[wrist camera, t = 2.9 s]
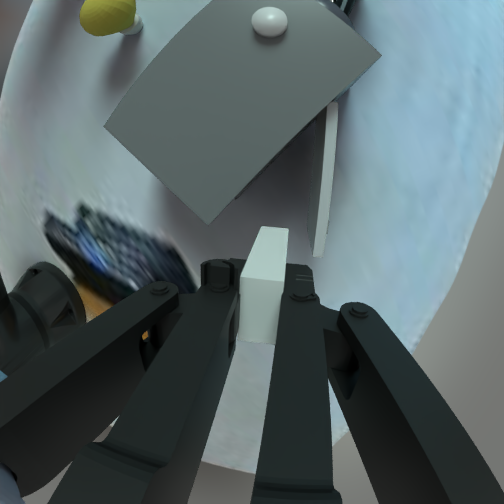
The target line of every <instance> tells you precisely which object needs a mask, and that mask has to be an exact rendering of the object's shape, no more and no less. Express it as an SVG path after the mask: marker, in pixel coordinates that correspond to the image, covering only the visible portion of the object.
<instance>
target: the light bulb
mask: <svg viewBox="0 0 504 504" xmlns="http://www.w3.org/2000/svg"><path fill="white" fill-rule="evenodd" d="M79 17H80V24H81V26H82V27H83V29H84V30H85V31H86V32H88V33H89V34H92V35H94V36H105V35H110V34H114V33H117V32H120V33H122V34H124V35H130V34H131V35H134V34H136V33H138V32H139V31H140V30H141V29H142V27H143V22H142V18H141V17H140V16H139V15H138V14H137V13H136V2H135V0H86V1H85V2H84V4H83V6H82V8H81V11H80V16H79Z"/></svg>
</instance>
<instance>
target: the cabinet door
mask: <svg viewBox="0 0 504 504" xmlns="http://www.w3.org/2000/svg"><path fill="white" fill-rule="evenodd" d="M337 120H338V102H332V101H331V102H330V103H329V104H328V105H327V106H326V107H325V108H324V109H323V110H321V111H320V112H319V113H318V114H317V115H316V125H315V140H314V154H313V166H312V178H311V189H310V199H309V209H308V218H307V229H308V234H309V240H310V245H311V250H312V255H313V257H321V258H323V253H324V247H325V240H326V234H328V226H329V220H328V217H329V209H330V200H331V191H332V182H333V172H334V161H335V149H336V135H337Z"/></svg>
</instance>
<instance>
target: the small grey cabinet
mask: <svg viewBox="0 0 504 504" xmlns="http://www.w3.org/2000/svg"><path fill="white" fill-rule="evenodd" d="M381 56H382V55H381V54H380V53H379V52H378V51H377V50H376V49H375V48H374V47H373V46H372V45H370V44H369V43H368V42H367V41H366V40H365V39H364V38H363V37H361V36H360V35H359V34H358V33H357V32H356V31H355V30H354V27H353V25H352V23H351V21H350V19H349V18H348V17H347V15H346V14H345V13H344V12H343V11H342V10H341V9H340V8H339V7H338V6H337V5H336V4H335V3H333V2H332V1H330V0H212V1H211V2H210V3H209V4H207V5H206V6H205V7H204V8H203V9H202V10H201V11H200V12H199V13H198V14H196V15H195V16H194V17H193V18H192V19H191V20H190V21H189V22H188V23H187V24H186V25H185V26H184V27H183V28H182V29H181V30H180V31H179V32H178V33H177V34H176V35H175V36H174V37H173V38H172V39H171V40H170V41H169V43H168V44H167V45H166V46H165V47H164V48H163V49H162V50H161V51H160V52H159V54H158V55H157V56H156V57H155V58H154V59H153V61H152V62H151V63H150V64H149V65H148V66H147V68H146V69H145V70H144V71H143V73H142V74H141V75H140V76H139V78H138V79H137V80H136V81H135V83H134V84H133V85H132V87H131V88H130V89H129V91H128V92H127V93H126V95H125V96H124V97H123V99H122V100H121V101H120V103H119V104H118V106H117V107H116V109H115V110H114V111H113V113H112V114H111V116H110V117H109V119H108V120H107V122H106V123H105V125H104V128H105V129H106V130H107V131H109V132H110V133H111V134H112V135H113V136H114V137H115V138H116V139H117V140H118V141H119V142H120V143H121V144H122V145H123V146H124V147H125V148H126V149H127V150H128V151H129V152H130V153H131V154H133V155H134V156H135V157H136V158H137V159H138V160H139V161H140V162H141V163H142V164H143V165H144V166H145V167H146V168H147V169H148V170H149V171H150V172H151V173H153V174H154V175H155V176H156V177H157V178H158V179H159V180H160V181H161V182H162V183H163V184H164V185H165V186H166V187H167V188H168V189H169V190H171V191H172V192H173V193H174V194H175V195H176V196H177V197H178V198H179V199H180V200H181V201H182V202H183V203H184V204H185V205H186V206H188V207H189V208H190V209H191V210H192V211H193V212H194V213H195V214H196V215H197V216H198V217H199V218H200V219H201V220H202V221H204V222H205V223H206V224H207V225H209V224H210V223H212V221H213V220H214V219H215V218H216V217H217V216H218V215H219V214H220V213H221V212H222V211H223V210H224V208H225V207H226V206H227V205H228V204H229V203H230V202H231V201H232V200H233V199H234V198H235V199H237V198H238V197H239V196H240V195H241V194H242V193H243V192H244V191H245V190H246V189H247V188H248V187H249V186H250V185H251V184H252V182H253V181H254V180H255V179H256V178H257V177H258V176H259V175H260V174H261V173H262V172H263V171H264V170H265V169H266V168H267V167H268V166H269V165H270V164H271V163H272V162H273V161H274V160H275V159H276V158H277V157H278V156H279V155H280V154H281V153H282V152H283V151H284V150H285V149H286V148H287V147H288V146H289V145H290V144H291V143H292V142H293V141H294V140H295V139H296V138H297V137H298V136H299V135H300V134H301V133H302V132H303V131H304V130H305V129H306V128H307V127H308V126H309V125H311V124H312V123H313V122H314V121H315V120H316V115H317V114H318V113H319V112H320V111H321V110H323V109H324V108H325V107H326V106H327V105H328V104H329V103H330V102H331V101H332V102H335V101H336V100H337V99H338V98H339V97H340V96H341V95H342V94H344V93H345V92H346V91H347V90H348V89H349V88H350V87H351V86H352V85H353V84H354V83H355V82H356V81H357V80H358V79H359V78H360V77H361V76H362V75H363V74H364V73H365V72H366V71H367V70H368V69H369V68H370V67H371V66H372V65H373V64H374V63H375V62H376V61H377V60H378V59H379V58H380V57H381Z"/></svg>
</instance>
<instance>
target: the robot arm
mask: <svg viewBox="0 0 504 504" xmlns="http://www.w3.org/2000/svg"><path fill="white" fill-rule="evenodd" d="M288 230H289V229H287V228H276V227H266V226H261V228H260V231H259V233H258V235H257V238H256V240H255V243H254V245H253V247H252V250H251V252H250V254H249V257H248V259H247V260H243V259H233V258H230V259H229V260H225V259H213V260H208V261H205V262H203V263H202V264H201V286H200V288H199V290H198V291H197V293H193V294H178V287H177V286H176V285H175V284H173V283H170V282H165V281H162V282H161V281H157V282H154V283H150V284H148V285H146V286H144V287H143V288H141V289H139V290H138V291H136V292H135V293H133V294H132V295H130V296H128V297H127V298H125V299H124V300H122V301H120V302H119V303H117V304H116V305H114V306H113V307H111V308H110V309H108V310H106V311H105V312H103V313H102V314H100V315H99V316H97V317H96V318H94V319H92V320H91V321H89V322H88V323H86V324H85V321H86V317H85V310H84V307H83V303H82V301H81V298H80V296H79V294H78V292H77V290H76V289H75V287H74V285H73V284H72V282H71V281H70V280H69V278H68V277H67V276H66V275H65V274H64V273H63V272H62V271H61V270H60V269H59V268H57V267H56V266H54V265H53V264H50V263H48V262H39V263H37V264H35V265H33V266H32V267H30V268H29V269H28V270H27V271H26V272H25V273H24V275H23V276H22V277H21V279H20V280H19V282H18V283H17V284H16V286H15V287H14V289H13V290H12V291H11V292H10V293H8V294H7V291H6V288H5V285H4V282H3V279H2V276H1V273H0V504H25V502H24V501H23V499H22V497H24V496H27V495H29V494H32V493H33V492H35V491H37V490H39V489H40V488H42V487H44V486H45V485H46V484H47V483H49V482H50V481H51V480H52V479H53V478H55V477H56V476H57V475H58V474H59V473H60V472H61V471H62V470H63V469H64V468H65V467H66V466H67V465H68V464H70V462H72V461H73V462H72V463H71V465H70V466H69V468H68V470H67V471H66V473H65V475H64V476H63V478H62V480H61V481H60V483H59V485H58V487H57V488H56V490H55V492H54V493H53V495H52V497H51V499H50V500H49V502H48V504H187V502H188V499H189V496H190V492H191V490H192V487H193V483H194V480H195V477H196V474H197V471H198V468H199V465H200V461H201V458H202V455H203V452H204V449H205V446H206V442H207V439H208V436H209V433H210V430H211V426H212V423H213V420H214V417H215V414H216V410H217V407H218V404H219V401H220V397H221V394H222V391H223V388H224V384H225V381H226V378H227V375H228V371H229V368H230V365H231V361H232V358H233V355H234V351H235V347H236V336H237V332H238V340H241V341H248V342H256V343H264V344H273V345H275V351H274V358H273V366H272V373H271V381H270V388H269V395H268V401H267V408H266V415H265V421H264V428H263V434H262V440H261V446H260V452H259V458H258V464H257V470H256V475H255V482H254V487H253V492H252V497H251V503H250V504H342V498H341V495H340V493H339V492H338V491H337V490H335V489H334V486H333V467H332V466H333V465H332V435H331V416H330V400H329V386H328V379H329V381H330V384H331V386H332V389H333V391H334V393H335V396H336V398H337V400H338V403H339V405H340V408H341V410H342V413H343V415H344V417H345V420H346V422H347V425H348V427H349V430H350V432H351V434H352V437H353V439H354V442H355V444H356V447H357V449H358V451H359V454H360V457H361V459H362V462H363V464H364V467H365V469H366V472H367V474H368V477H369V479H370V482H371V484H372V487H373V490H374V492H375V495H376V497H377V500H378V502H379V504H504V492H503V491H502V489H501V487H500V485H499V483H498V482H497V480H496V478H495V477H494V475H493V473H492V472H491V470H490V468H489V466H488V465H487V463H486V462H485V460H484V458H483V457H482V455H481V454H480V452H479V450H478V449H477V447H476V446H475V444H474V443H473V441H472V440H471V438H470V436H469V435H468V433H467V432H466V430H465V429H464V427H463V426H462V424H461V423H460V421H459V420H458V419H457V417H456V416H455V414H454V413H453V411H452V410H451V409H450V407H449V406H448V404H447V403H446V401H445V400H444V399H443V397H442V396H441V394H440V393H439V392H438V391H437V389H436V388H435V386H434V385H433V384H432V382H431V381H430V379H429V378H428V377H427V375H426V374H425V373H424V371H423V370H422V369H421V367H420V366H419V365H418V363H417V362H416V361H415V359H414V358H413V357H412V356H411V354H410V353H409V352H408V350H407V349H406V348H405V347H404V345H403V344H402V343H401V341H400V340H399V339H398V338H397V336H396V335H395V334H394V333H393V331H392V330H391V329H390V328H389V326H388V325H387V324H386V323H385V321H384V320H383V319H382V318H381V317H380V315H379V314H378V313H377V312H376V311H375V310H374V309H373V308H372V307H370V306H368V305H366V304H364V303H360V302H350V303H345V304H344V305H342V306H341V308H340V311H336V310H332V309H329V308H327V307H325V306H323V305H321V304H320V299H319V297H318V295H317V294H315V289H314V281H313V273H312V270H311V269H310V268H309V267H308V266H307V265H299V264H289V263H286V256H287V243H288ZM146 331H147V332H148V337H147V338H146V339H144V340H143V339H142V335H143V334H144V332H146ZM119 415H120V416H119ZM118 416H119V417H118ZM117 417H118V419H117V421H116V422H115V424H114V426H113V427H112V429H111V431H110V432H109V434H108V436H107V437H106V438H105V440H104V441H102V442H93V441H94V440H95V438H97V437H98V436H99V435H100V434H101V433H102V432H103V431H104V430H105V429H106V428H107V427H108V426H109V425H110V424H111V423H112V422H113V421H114V420H115V419H116V418H117Z"/></svg>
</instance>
